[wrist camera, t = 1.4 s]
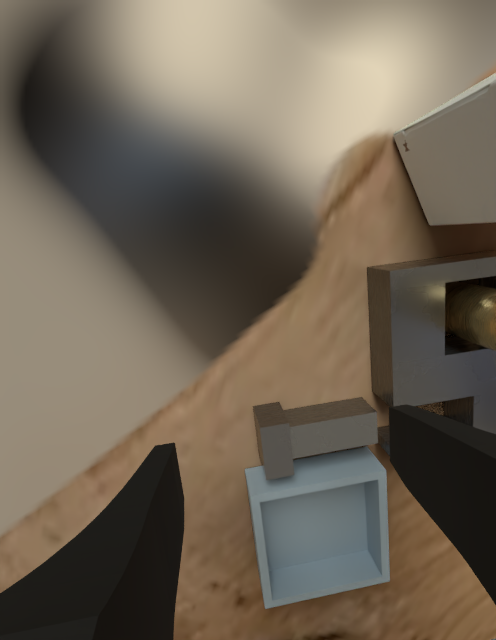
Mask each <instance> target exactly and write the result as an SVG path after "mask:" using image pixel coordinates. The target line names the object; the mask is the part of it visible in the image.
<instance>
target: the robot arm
mask: <svg viewBox="0 0 496 640" xmlns="http://www.w3.org/2000/svg"><path fill="white" fill-rule="evenodd" d="M389 430H390V461H391V463H392V465H393V466H394V468H395V470H396V471H397V473H398V475H399V476H400V478H401V480H402V481H403V483H404V484H405V486H406V487H407V488H408V490H409V491H410V492H411V494H412V495H413V496H414V497H415V499H416V500H417V501H418V502H419V503H420V505H421V506H422V507H423V508H424V510H425V511H426V512H427V513H428V514H429V516H430V517H431V518H432V519H433V520H434V522H435V523H436V524H437V525H438V527H439V528H440V529H441V530H442V531H443V533H444V534H445V535H446V536H447V537H448V539H449V540H450V541H451V542H452V543H453V545H454V546H455V547H456V548H457V550H458V551H459V552H460V554H461V555H462V556H463V558H464V559H465V560H466V562H467V563H468V565H469V566H470V567H471V569H472V570H473V572H474V573H475V575H476V576H477V578H478V579H479V581H480V582H481V584H482V585H483V586H484V588H485V589H486V591H487V592H488V594H489V595H490V597H491V598H492V600H493V602H494V603H495V605H496V434H494V433H490V432H487V431H484V430H481V429H478V428H475V427H472V426H469V425H466V424H463V423H461V422H458V421H455V420H452V419H449V418H447V417H444V416H441V415H438V414H436V413H433V412H430V411H427V410H424V409H421V408H418V407H415V406H411V405H407V404H405V405H399V406H393V407H389ZM183 534H184V495H183V489H182V483H181V477H180V471H179V465H178V459H177V453H176V448H175V443H169V444H163V445H157V446H155V447H154V448H153V449H152V451H151V452H150V453H149V455H148V456H147V457H146V459H145V460H144V461H143V463H142V464H141V465H140V467H139V468H138V469H137V471H136V472H135V473H134V475H133V476H132V477H131V478H130V480H129V481H128V482H127V484H126V485H125V486H124V487H123V489H122V490H121V491H120V492H119V493H118V494H117V495H116V497H115V498H114V499H113V500H112V501H111V502H110V503H109V505H108V506H107V507H106V508H105V509H104V510H103V511H102V512H101V513H100V514H99V515H98V516H97V517H96V518H95V519H94V520H93V521H92V522H91V523H90V524H89V525H88V526H87V527H86V528H85V529H83V530H82V531H81V532H80V533H79V534H78V535H77V536H76V537H75V538H73V539H72V540H71V541H70V542H69V543H67V544H66V545H65V546H64V547H63V548H61V549H60V550H59V551H58V552H56V553H55V554H54V555H53V556H52V557H50V558H49V559H48V560H47V561H45V562H44V563H43V564H41V565H40V566H39V567H37V568H36V569H35V570H33V571H32V572H31V573H29V574H28V575H26V576H25V577H24V578H22V579H21V580H19V581H18V582H16V583H15V584H14V585H12V586H11V587H9V588H8V589H6V590H5V591H3V592H2V593H0V640H173V631H174V614H175V603H176V594H177V586H178V577H179V569H180V561H181V552H182V543H183ZM492 640H496V639H492Z"/></svg>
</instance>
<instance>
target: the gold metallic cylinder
mask: <svg viewBox="0 0 496 640" xmlns="http://www.w3.org/2000/svg"><path fill="white" fill-rule="evenodd" d="M445 332H447V333H449V334H452V335H455V336H457V337H460V338H463V339H465V340H468V341H470V342H473V343H476V344H478V345H481V346H484V347H486V348H489V349H491V350H494V351H496V289H495V288H489V287H483V286H478V285H472V284H466V283H460V282H448V283H445Z"/></svg>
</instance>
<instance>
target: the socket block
mask: <svg viewBox="0 0 496 640" xmlns="http://www.w3.org/2000/svg"><path fill="white" fill-rule="evenodd" d="M367 275H368V299H369V324H370V348H371V372H372V391H373V392H374V393H375V394H376V395H377V396H379V397H380V398H381V399H382V400H383V401H384V402H385V403H386V404H388V405H389V406H390V407H393V406H399V405H405V404H407V405H411V406H419V405H425V404H430V403H436V402H442V401H444V417H447V418H449V419H452V420H455V421H458V422H461V423H463V424H466V425H469V426H472V427H475V428H478V429H481V430H484V431H487V432H490V433H494V434H496V351H494V350H491V349H489V348H486V347H484V346H481V345H478V344H476V343H473V342H470V341H468V340H465V339H463V338H460V337H457V336H455V337H449V338H445V283H448V282H455V281H462V280H469V279H476V278H479V286H483V287H489V288H495V289H496V250H492V251H484V252H477V253H469V254H462V255H454V256H447V257H439V258H432V259H424V260H417V261H409V262H402V263H394V264H387V265H379V266H372V267H367ZM377 431H378V443H379V444H380V445H381V447H382V448H383V449H384V450H385V451H386V452H387V454H388V455H389V456H390V430H389V426H385V427H379V428H377Z"/></svg>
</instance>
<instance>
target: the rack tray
mask: <svg viewBox="0 0 496 640" xmlns="http://www.w3.org/2000/svg"><path fill="white" fill-rule="evenodd" d="M293 466H294V475H292V476H286V477H281V478H276V479H270V480H266V478H265V474H264V470H263V467H262V466H258V467H253V468H247V469H245V475H246V482H247V490H248V497H249V504H250V512H251V519H252V526H253V534H254V541H255V549H256V556H257V563H258V571H259V577H260V583H261V588H262V594H263V600H264V605H265V609H267V608H272V607H276V606H281V605H285V604H290V603H294V602H299V601H303V600H308V599H312V598H317V597H321V596H326V595H330V594H335V593H339V592H344V591H348V590H353V589H357V588H362V587H366V586H371V585H375V584H380V583H384V582H389V581H390V568H389V538H388V508H387V478H386V469H385V468H384V467H383V466H382V464H381V463H380V462H379V461H378V459H377V458H376V457H375V456H374V454H373V453H372V452H371V451H370V449H369V448H368V447H362V448H356V449H351V450H345V451H340V452H334V453H329V454H324V455H318V456H313V457H307V458H302V459H296V460H293Z"/></svg>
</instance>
